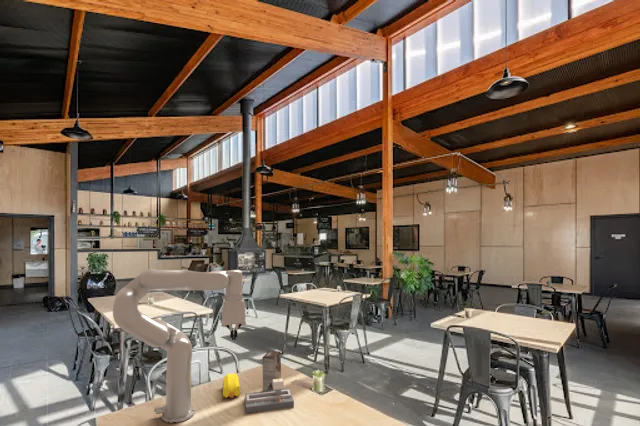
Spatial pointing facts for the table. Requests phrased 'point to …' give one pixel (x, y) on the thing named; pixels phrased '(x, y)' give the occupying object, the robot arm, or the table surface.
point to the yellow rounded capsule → (231, 386)
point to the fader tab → (278, 386)
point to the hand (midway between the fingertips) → (233, 339)
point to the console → (268, 400)
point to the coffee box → (271, 369)
